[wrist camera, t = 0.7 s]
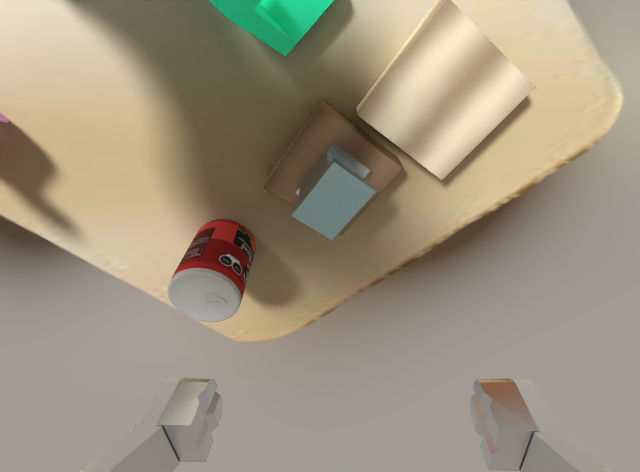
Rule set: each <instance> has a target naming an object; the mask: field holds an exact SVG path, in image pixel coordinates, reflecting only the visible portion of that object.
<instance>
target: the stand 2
mask: <svg viewBox="0 0 640 472" xmlns="http://www.w3.org/2000/svg"><path fill="white" fill-rule="evenodd" d="M534 88H535V86H534V85H533V84H532V83H531V82H530V81H529V80H528V79H527V78H526V77H525V76H524V75H523V74H522V73H521V72H520V71H519V70H518V69H517V68H516V67H515V66H514V65H513V64H512V63H511V62H510V60H509V59H508V58H507V57H506V56H505V55H504V54H503V53H502V52H501V51H500V50H499V49H498V48H497V47H496V46H495V45H494V44H493V43H492V42H491V41H490V40H489V39H488V38H487V37H486V36H485V35H484V34H483V33H482V32H481V31H480V30H479V29H478V28H477V27H476V26H475V25H474V24H473V23H472V22H471V21H470V20H469V19H468V18H467V16H466V15H465V14H464V13H463V12H462V11H461V10H460V9H459V8H458V7H457V6H456V5H455V4H454V3H453V2H452V1H451V0H437V1H436V3H435V4H434V5H433V7H432V8H431V9H430V11H429V12H428V13H427V14H426V16H425V17H424V18H423V20H422V21H421V22H420V24H419V25H418V26H417V28H416V29H415V30H414V32H413V33H412V34H411V36H410V37H409V38H408V40H407V41H406V42H405V44H404V45H403V46H402V48H401V49H400V50H399V52H398V53H397V54H396V55H395V57H394V58H393V59H392V61H391V62H390V63H389V65H388V66H387V67H386V69H385V70H384V71H383V73H382V74H381V75H380V77H379V78H378V79H377V81H376V82H375V83H374V85H373V86H372V87H371V89H370V90H369V91H368V92H367V94H366V95H365V96H364V98H363V99H362V100H361V102H360V103H359V104H358V106H357V107H356V110H357V114H358V116H359V117H361V118H362V119H363V120H365V121H366V122H367V123H368V124H370V125H371V126H372V127H374V128H375V129H376V130H377V131H379V132H380V133H381V134H383V135H384V136H385V137H386V138H388V139H389V140H390V141H392V142H393V143H394V144H395V145H397V146H398V147H399V148H401V149H402V150H403V151H404V152H406V153H407V154H408V155H410V156H411V157H412V158H413V159H415V160H416V161H417V162H419V163H420V164H421V165H422V166H424V167H425V168H426V169H428V170H429V171H430V172H431V173H433V174H434V175H435V176H437V177H438V178H439V179H440V180H443V179H444V178H445V177H446V176H447V175H448V174H449V173H450V172H451V171H452V170H453V169H454V168H455V167H456V166H457V165H458V164H459V163H460V162H461V161H462V160H463V159H464V158H465V157H466V156H467V155H468V154H469V153H470V152H471V151H472V150H473V149H474V148H475V147H476V146H477V145H478V144H479V143H480V142H481V141H482V140H483V139H484V138H485V137H486V136H487V135H488V134H489V133H490V132H491V131H492V130H493V129H494V128H495V127H496V126H497V125H498V124H499V123H500V122H501V121H502V120H503V119H504V118H505V117H506V116H507V115H508V114H509V113H510V112H511V111H512V110H513V109H514V108H515V107H516V106H517V105H518V104H519V103H520V102H521V101H522V100H523V99H524V98H525V97H526V96H527V95H528V94H529V93H530V92H531V91H532V90H533V89H534Z"/></svg>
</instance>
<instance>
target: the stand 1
mask: <svg viewBox="0 0 640 472" xmlns="http://www.w3.org/2000/svg"><path fill="white" fill-rule="evenodd" d="M332 141H335V142H336V143H337V144H339V145H340V146H342V147H343V148H344V149H346V150H347V151H348V152H350V153H351V154H353V155H354V156H355V157H357V158H358V159H359V160H361V161H362V162H364V163H365V164H366V165H368V166H369V167H370V170H371V171H370V172H369V173H368V174H367V175H366V176H365V180H366V181H367V182H368V183H370V184H371V185H373V186H374V187H375V189H376V192H375V194H374V195H373V196H372V197H371V198H370V199H369V200H368V201H367V202H366V203H365V205H364V206H363V207H362V208H361V209H360V210H359V211H358V212H357V213H356V214H355V216H354V217H353V218H352V219H351V220H350V221H349V222H348V223H347V224H346V225H345V227H344V228H343V229H342V230H341V231H340V232H339V233H338V234H339V235H340V236H341V235H342V234H343V233H344V232H345V231H346V229H347V228H348V227H349V226H350V225H351V224H352V223H353V222H354V221H355V220H356V219H357V217H358V216H359V215H360V214H361V213H362V212H363V211H364V210H365V209H366V208H367V207H368V205H369V204H370V203H371V202H372V201H373V200H374V199H375V198H376V197H377V196H378V195H379V193H380V192H381V191H382V190H383V189H384V188H385V187H386V186H387V185H388V184H389V183H390V181H391V180H392V179H393V178H394V177H395V176H396V175H397V174H398V173H399V172H400V171H401V169H402V166H401V164H400V162H399V159H398V158H397V157H396V156H395V155H393V154H392V153H391V152H389V151H388V150H387V149H385V148H384V147H383V146H381V145H380V144H379V143H377V142H376V141H375V140H374V139H372V138H371V137H370V136H368V135H367V134H366V133H364V132H363V131H362V130H360V129H359V128H358V127H357V126H355V125H354V124H353V123H351V122H350V121H349V120H347V119H346V118H345V117H343V116H342V115H341V114H339V113H338V112H337V111H336V110H334V109H333V108H332V107H330V106H329V105H328V104H326V103H325V102H324V101H322V100H321V101H320V102H319V104H318V105H317V107H316V108H315V109H314V111H313V112H312V114H311V115H310V117H309V118H308V119H307V121H306V122H305V124H304V125H303V127H302V128H301V130H300V131H299V132H298V134H297V135H296V137H295V138H294V140H293V141H292V143H291V144H290V145H289V147H288V148H287V150H286V151H285V153H284V154H283V156H282V157H281V158H280V160H279V161H278V163H277V164H276V166H275V167H274V169H273V170H272V171H271V173H270V174H269V176H268V178H267V181H266V183H265V186H264V188H265V189H267V190H268V191H270V192H271V193H273V194H275V195H276V196H278V197H279V198H281V199H283V200H284V201H286V202H287V203H289V204H291V205H292V206H294V207H296V206H297V204H298V198H299V195H297V194H296V193H295V191H296V188H297V187H298V186H299V184H300V183H301V182H302V180H303V179H304V178H305V176H306V175H307V174H308V172H309V171H310V170H311V168H312V167H313V166H314V165H315V163H316V162H317V161H318V159H319V158H320V157H321V155H322V154H323V153H324V151H325V150H326V149H327V147H328V146H329V145H330V143H331V142H332Z"/></svg>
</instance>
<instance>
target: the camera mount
mask: <svg viewBox="0 0 640 472" xmlns="http://www.w3.org/2000/svg"><path fill="white" fill-rule="evenodd" d="M209 1H210V2H211V3H212V4H213V5H214V6H215V7H216V8H217V9H218V10H219V11H220V12H221V13H222V14H223V15H225V16H226V17H227V18H228V19H229V20H231V21H232V22H233V23H235V24H236V25H238V26H239V27H241V28H243V29H244V30H246V31H247V32H249V33H250V34H252V35H253V36H255V37H256V38H258V39H259V40H261V41H262V42H264V43H265V44H267V45H268V46H270V47H271V48H273V49H275V50H276V51H278V52H279V53H281V54H282V55H284V56H285V57H286V56H287V55H288V53H289V52H290V51H291V50H292V49H293V48H294V46H295V45H296V44H297V43H298V42H299V41H300V39H301V38H302V37H303V36H304V35H305V34H306V32H307V31H308V30H309V29H310V28H311V27H312V25H313V24H314V23H315V22H316V21H317V20H318V18H319V17H320V16H321V15H322V14H323V13H324V11H325V10H326V9H327V8H328V7H329V6H330V4H331V3H332V2H333V1H334V0H209Z"/></svg>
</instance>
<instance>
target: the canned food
mask: <svg viewBox="0 0 640 472" xmlns="http://www.w3.org/2000/svg"><path fill="white" fill-rule="evenodd" d="M254 254H255V244H254V240H253V237H252V235H251V234H250V233H249V231H248V230H247V229H246V228H245V227H243V226H242V225H240V224H238V223H236V222H233V221H229V220H215V221H211V222H209V223H207V224H206V225H204V226H203V227H202V228H200V230H199V231H198V232H197V234H196V236H195V238H194V239H193V241H192V243H191V245H190V246H189V248H188V250H187V252H186V253H185V255H184V257H183V259H182V261H181V262H180V264H179V266H178V268H177V269H176V271H175V273H174V275H173V277H172V279H171V281H170V283H169V286H168V297H169V299H170V301H171V303H172V304H173V305H174V307H175V308H176V309H177V310H179V311H180V312H181V313H183V314H184V315H186V316H188V317H190V318H193V319H196V320H200V321H206V322H218V321H223V320H226V319H228V318H230V317H232V316H233V315H234V314H235V313H236V312H237V310H238V308H239V306H240V303H241V300H242V297H243V293H244V290H245V286H246V283H247V279H248V275H249V272H250V268H251V265H252V261H253V257H254Z"/></svg>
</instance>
